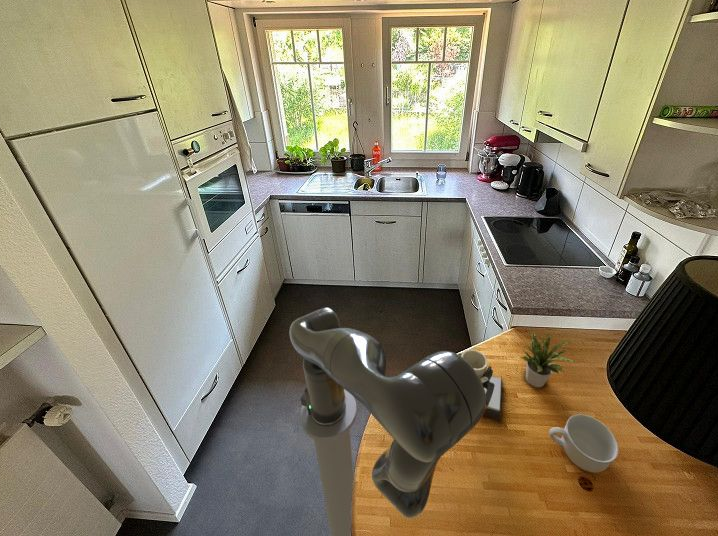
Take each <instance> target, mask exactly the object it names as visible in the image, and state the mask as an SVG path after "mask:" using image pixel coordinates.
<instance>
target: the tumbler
mask: <svg viewBox="0 0 718 536" xmlns="http://www.w3.org/2000/svg"><path fill="white" fill-rule="evenodd" d="M462 352H463V353H462ZM462 352H461V354H462V355H461V357H462V358H464V359H465V360H466V361H467V362H468V363H469V364H470V365H471V366H472V367H473V369H474V370H475V371H476V373H477V374H478V376H479V378H482V377H483V375H484V373H485V372H486V370H487V368H488V363H489V360H488V359H487V356H486V355H485V354H484V353H483V352H481V351H479V350H477V349H466V350H464V351H462Z"/></svg>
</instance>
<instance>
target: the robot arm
mask: <svg viewBox="0 0 718 536" xmlns="http://www.w3.org/2000/svg"><path fill="white" fill-rule="evenodd" d="M288 333H289V340H290V342H291V344H292V347H293V349H294V350H295V352H296V353H297V354H298V355H299V356H300V357H301V358H302V359H303V360H302V369H303V373H304V378H305V385H306V387H305V388H304V391H303V394H302V395H301V397H300V404H301V406H302V405H303V406H306V407H307V409H308V414H309V415H311V416H312V419H313V420H314V422H315V423H317V424H318V425H321V426H331V425H334V424H336V423H338V422H339V421H340V420H341V419H342V418H343V416H344V414H345V411H346V403H347V402H346V403H345V399H346V397H345V393H344V389H345V390H346V391H348V392H349V393H350V394H351V395H352V396H354V398H355V400H357V401H358V402H359V403H360V404H361V405H362V406H363V407H364V408H365V409H366V410H367V411H368V413H370V415H372V417H373V418H374V419H375V420H376V422H378V423H379V424H380V425H381V427H382V428H383V429H384V430H385V431H386V432H387V434H388V435H389V436H390V437H391V438H392V439H393V440H392V441H391V444H390V447H389V448H387V449H386V450H384V451H383V452H382V453H381V455H379V456H378V458H377V460H376V461H375V463H374V464H373V468H372V471H371V479H372V482H373V485H374V487H375V488H376V489H377V490H378V491H379V492H380V493H381V495H382V496H384V498H385V499H386V500H387V501H388V502H389V503H390V504H391V505H392V506H393V507H394V508H395V509H396V510H397V511H398V512H399V514H401V515H402V516H403V517H404V518H406V519H413V518H414V519H415V518H416V517H418V516H419V515H421V513H422V512H423V511H424V509H425V507H426V506H427V504H428V501H429V496H430V492H431V489H432V483H433V478H434V475H435V473H436V472H435V471H436V468H437V465H438V462H439V461H440V459H441V458H442V456H444V455H445V454H446V453H447V452H449V450H451V449H453V447H454V446H456V445H457V444H458V443H459V442H460V441H461V440H462V439H463V438H464V437H466V436H467V435H468V434H469V433H470V432H471V431H473V430H474V428H476V426H478V424H479V423H480V421H481V420H482V418H483V416H484V415H483V414H484V411H486V410H487V408H488V405H489V403H490V400H491V397H492V394H493V391H494V386H495V385H494V383H492V382H490V379H491V377H492V376H493V375H494V370H493V367H492V366H490V365H488V366H487V369H486V372H485V373H484V375H483V377H482V378H479V376H478V374H477V373H476V371H475V370H474V369H473V367H472V366H471V365H470V364H469V363H468V362H467V361H466V360H465V359H464V358H462V357H461V355H462V353H463V352H464V351H462V352H459V353H456V352H453V351H449V350H440V351H437V352H433V353H431V354H429V355H427V356H426V357H424V358H422V359H420V361H418V362H416V363H415V364H413V365H412V366H409V367H408V368H407V369H405V370H403V371H402V372H400V373H399V374H397V375H394V376H387V359H386V353H385V351H384V348H383V346H382V345H381V344H380V342H379V341H378V340H377V339H376V338H375V337H373V336H371V335H369V334H368V333H365V332H363V331H361V330H359V329H355V328H353V327H352V328H351V327H342V326H341V323H340V320H339V317H338V314H337V313H336V312H335V311H334V310H333V309H332V308H330V307H327V306H326V307H322V308H320V309H317V310H315V311H311V312H310V313H307V314H304V315H303V316H300V317H298V318H296V319H295V320H294V321H292V323H291V325H290V327H289V331H288ZM484 388H486V389H487V391H486V394H485V390H484Z"/></svg>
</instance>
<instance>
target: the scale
mask: <svg viewBox="0 0 718 536" xmlns="http://www.w3.org/2000/svg"><path fill="white" fill-rule="evenodd" d="M490 382H492V383H494V385H495V386H494V391H493V394H492V397H491V400H490V403H489V405H488V408H487V410H486V411H484V414H483V416H484V417H487V418H490V419H493V420H496V421H500V419H501V414H502V395H503V394H502V393H503V378H501V377H498V376H494V375H492V377H491V379H490ZM484 390H485V394H486V391H487V389H486V388H484Z"/></svg>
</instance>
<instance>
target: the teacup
mask: <svg viewBox="0 0 718 536" xmlns="http://www.w3.org/2000/svg"><path fill="white" fill-rule="evenodd" d="M548 433H549V437H550V439H551V440H552V441H553V442H554V443H556V444H557V445H559V447H560V448H563V451H564V453H565V455H566V457H568V459H569V460H570V461H571V462H572V463H573V464H574V465H576V466H577V467H578V468H579V469H581V470H583V471H585V472H589V473H600V472H604V471H606V470H607V469H608V468H609V467H610V466H611V464H612V463H613V462H614V461H616V459H617V458H618V456H619V444H618V440H617V439H616V437H615V435H614V433H613V432H612V431H611V430H610V428H608V426H606V425H605V424H604V423H603V422H602V421H600V420H599V419H597V418H595V417H593V416H591V415H588V414H583V413H577V414H573V415H571V416H569V418H568V419H567V421H566V423H565V426H564V428H562V427H559V426H554V427H551V428H550V429H549V432H548ZM557 435H561V438H560V437H558V436H557Z"/></svg>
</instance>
